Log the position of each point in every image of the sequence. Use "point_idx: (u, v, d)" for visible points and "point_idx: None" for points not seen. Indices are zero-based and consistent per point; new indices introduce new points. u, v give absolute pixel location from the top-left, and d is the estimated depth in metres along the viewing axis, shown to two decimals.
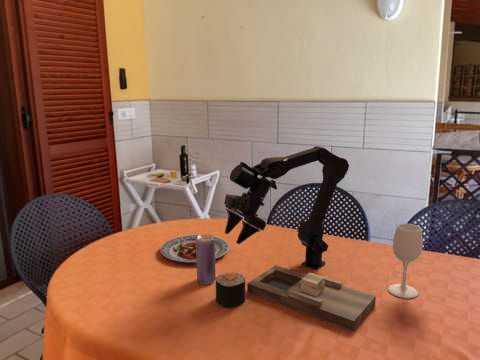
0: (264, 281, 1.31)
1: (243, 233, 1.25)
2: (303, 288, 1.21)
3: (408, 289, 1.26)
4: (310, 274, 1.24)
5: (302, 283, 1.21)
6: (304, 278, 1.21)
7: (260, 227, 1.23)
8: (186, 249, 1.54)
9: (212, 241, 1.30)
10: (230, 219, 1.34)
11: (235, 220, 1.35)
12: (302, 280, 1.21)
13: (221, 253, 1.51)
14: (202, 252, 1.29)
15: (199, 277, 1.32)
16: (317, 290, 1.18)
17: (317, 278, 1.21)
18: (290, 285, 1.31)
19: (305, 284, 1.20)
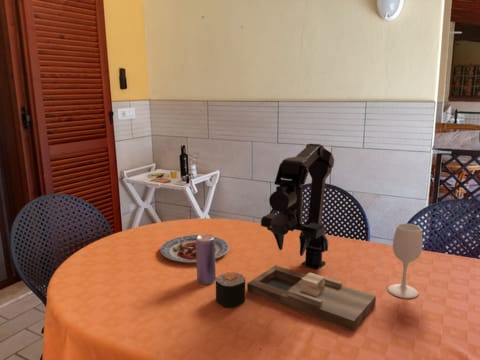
0: (264, 281, 1.31)
1: (304, 245, 1.20)
2: (303, 288, 1.21)
3: (408, 289, 1.26)
4: (310, 274, 1.24)
5: (302, 283, 1.21)
6: (304, 278, 1.21)
7: (322, 233, 1.18)
8: (186, 249, 1.54)
9: (212, 241, 1.30)
10: (278, 235, 1.25)
11: None
12: (302, 280, 1.21)
13: (221, 253, 1.51)
14: (202, 252, 1.29)
15: (199, 277, 1.32)
16: (317, 290, 1.18)
17: (317, 278, 1.21)
18: (290, 285, 1.31)
19: (305, 284, 1.20)
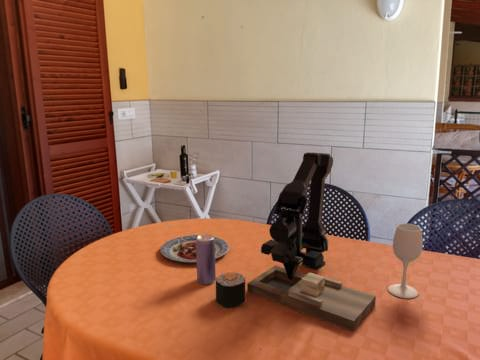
0: (264, 281, 1.31)
1: (294, 270, 1.24)
2: (303, 288, 1.21)
3: (408, 289, 1.26)
4: (310, 274, 1.24)
5: (302, 283, 1.21)
6: (304, 278, 1.21)
7: (321, 261, 1.20)
8: (186, 249, 1.54)
9: (212, 241, 1.30)
10: (288, 265, 1.25)
11: None
12: (302, 280, 1.21)
13: (221, 253, 1.51)
14: (202, 252, 1.29)
15: (199, 277, 1.32)
16: (317, 290, 1.18)
17: (317, 278, 1.21)
18: (290, 285, 1.31)
19: (305, 284, 1.20)
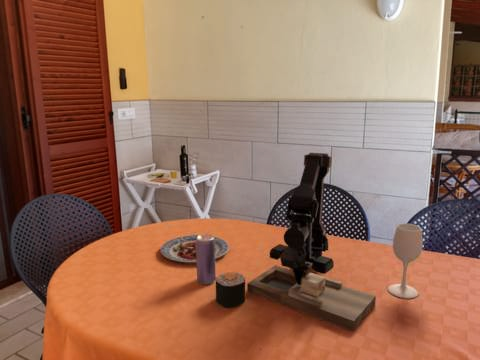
0: (264, 281, 1.31)
1: (303, 275, 1.22)
2: (304, 288, 1.21)
3: (408, 289, 1.26)
4: (310, 274, 1.24)
5: (303, 283, 1.21)
6: (305, 278, 1.21)
7: (331, 267, 1.18)
8: (186, 249, 1.54)
9: (212, 241, 1.30)
10: (297, 270, 1.23)
11: None
12: (303, 280, 1.21)
13: (221, 253, 1.51)
14: (202, 252, 1.29)
15: (199, 277, 1.32)
16: (317, 290, 1.18)
17: (318, 278, 1.21)
18: (290, 285, 1.31)
19: (306, 284, 1.20)
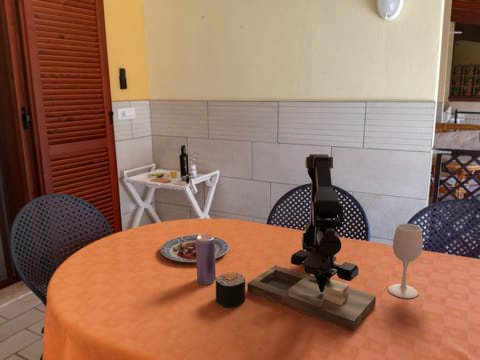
0: (264, 281, 1.31)
1: (326, 282, 1.18)
2: (327, 296, 1.16)
3: (408, 289, 1.26)
4: (333, 281, 1.19)
5: (326, 291, 1.16)
6: (328, 286, 1.16)
7: (356, 274, 1.14)
8: (186, 249, 1.54)
9: (212, 241, 1.30)
10: (319, 277, 1.18)
11: None
12: (326, 288, 1.16)
13: (221, 253, 1.51)
14: (202, 252, 1.29)
15: (199, 277, 1.32)
16: (341, 298, 1.14)
17: (341, 286, 1.16)
18: (290, 285, 1.31)
19: (329, 292, 1.16)
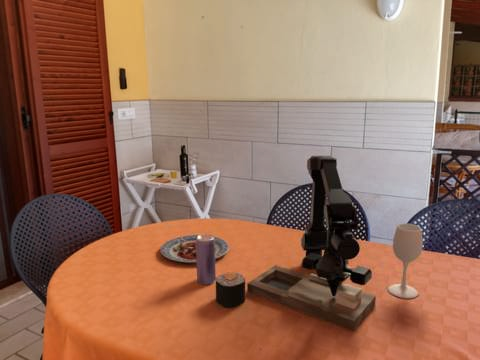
0: (264, 281, 1.31)
1: (338, 286, 1.16)
2: (339, 300, 1.14)
3: (408, 289, 1.26)
4: (346, 285, 1.17)
5: (338, 295, 1.14)
6: (340, 289, 1.14)
7: (370, 277, 1.12)
8: (186, 249, 1.54)
9: (212, 241, 1.30)
10: (332, 281, 1.16)
11: None
12: (338, 292, 1.14)
13: (221, 253, 1.51)
14: (202, 252, 1.29)
15: (199, 277, 1.32)
16: (354, 302, 1.12)
17: (354, 290, 1.14)
18: (290, 285, 1.31)
19: (342, 296, 1.14)
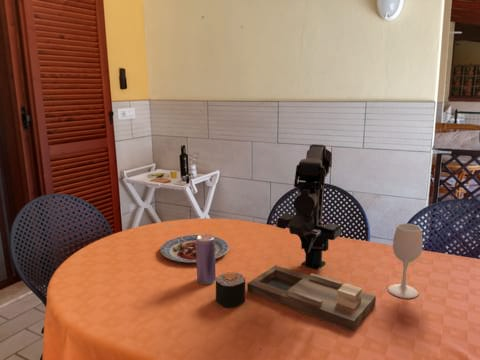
0: (264, 281, 1.31)
1: (310, 243, 1.23)
2: (339, 300, 1.14)
3: (408, 289, 1.26)
4: (346, 285, 1.17)
5: (338, 295, 1.14)
6: (340, 289, 1.14)
7: (339, 233, 1.19)
8: (186, 249, 1.54)
9: (212, 241, 1.30)
10: (304, 239, 1.23)
11: None
12: (338, 292, 1.14)
13: (221, 253, 1.51)
14: (202, 252, 1.29)
15: (199, 277, 1.32)
16: (354, 302, 1.12)
17: (354, 290, 1.14)
18: (290, 285, 1.31)
19: (342, 296, 1.14)
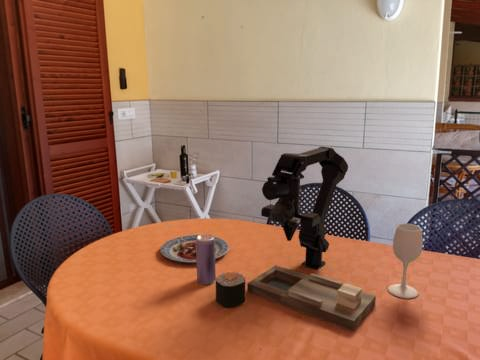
0: (264, 281, 1.31)
1: (292, 231, 1.31)
2: (339, 300, 1.14)
3: (408, 289, 1.26)
4: (346, 285, 1.17)
5: (338, 295, 1.14)
6: (340, 289, 1.14)
7: (318, 222, 1.27)
8: (186, 249, 1.54)
9: (212, 241, 1.30)
10: (286, 227, 1.32)
11: None
12: (338, 292, 1.14)
13: (221, 253, 1.51)
14: (202, 252, 1.29)
15: (199, 277, 1.32)
16: (354, 302, 1.12)
17: (354, 290, 1.14)
18: (290, 285, 1.31)
19: (342, 296, 1.14)
